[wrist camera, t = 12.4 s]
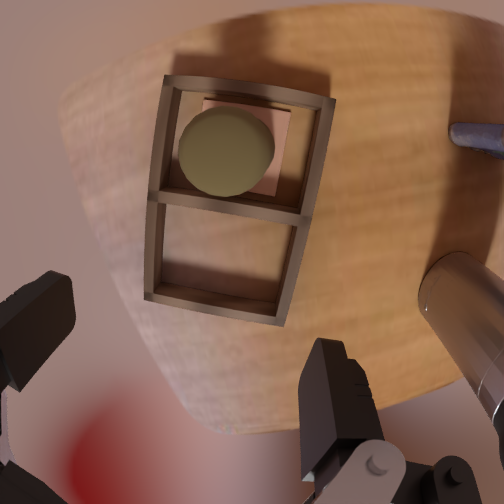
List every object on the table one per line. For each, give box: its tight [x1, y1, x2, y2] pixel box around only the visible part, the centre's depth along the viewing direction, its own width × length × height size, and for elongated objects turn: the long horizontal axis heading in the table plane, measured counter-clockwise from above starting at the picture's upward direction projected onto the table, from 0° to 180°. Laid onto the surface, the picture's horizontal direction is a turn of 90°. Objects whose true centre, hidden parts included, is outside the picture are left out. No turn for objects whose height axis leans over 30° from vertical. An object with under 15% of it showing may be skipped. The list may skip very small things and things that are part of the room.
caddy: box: [144, 75, 336, 327], centre depth 25 cm, size 14×21×2 cm, turn 170°
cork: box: [178, 106, 275, 197], centre depth 19 cm, size 6×6×11 cm
